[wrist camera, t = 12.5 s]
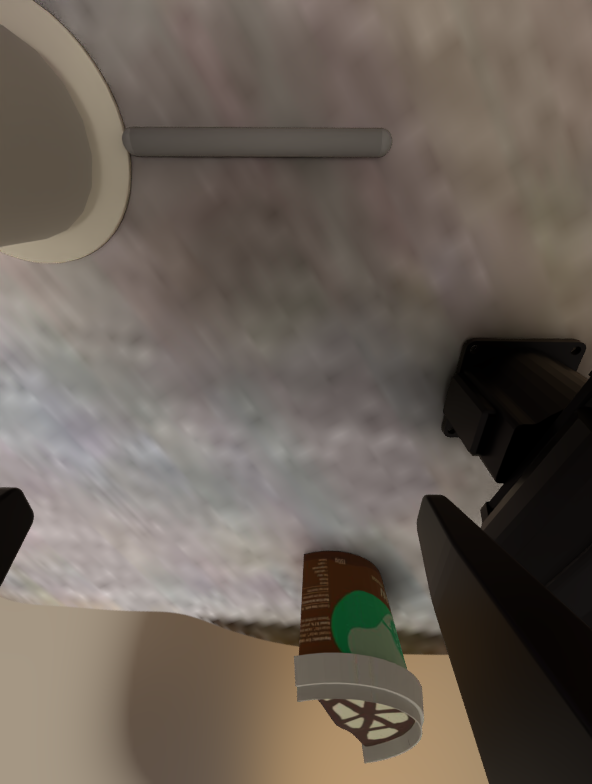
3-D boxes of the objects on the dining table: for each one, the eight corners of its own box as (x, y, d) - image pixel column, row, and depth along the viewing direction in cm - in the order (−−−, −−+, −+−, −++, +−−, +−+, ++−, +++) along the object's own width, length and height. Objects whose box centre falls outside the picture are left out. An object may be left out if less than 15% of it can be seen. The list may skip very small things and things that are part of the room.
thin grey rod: (390, 130, 15) (396, 126, 14) (387, 158, 15) (392, 156, 14) (125, 128, 15) (115, 125, 14) (130, 156, 15) (120, 154, 15)
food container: (412, 604, 32) (452, 755, 24) (350, 619, 34) (367, 766, 25) (367, 522, 27) (398, 678, 18) (296, 543, 28) (293, 697, 20)
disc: (96, -24, 13) (91, -29, 12) (151, 263, 18) (148, 264, 17) (-171, -23, 13) (-184, -29, 13) (-42, 261, 18) (-49, 262, 18)
